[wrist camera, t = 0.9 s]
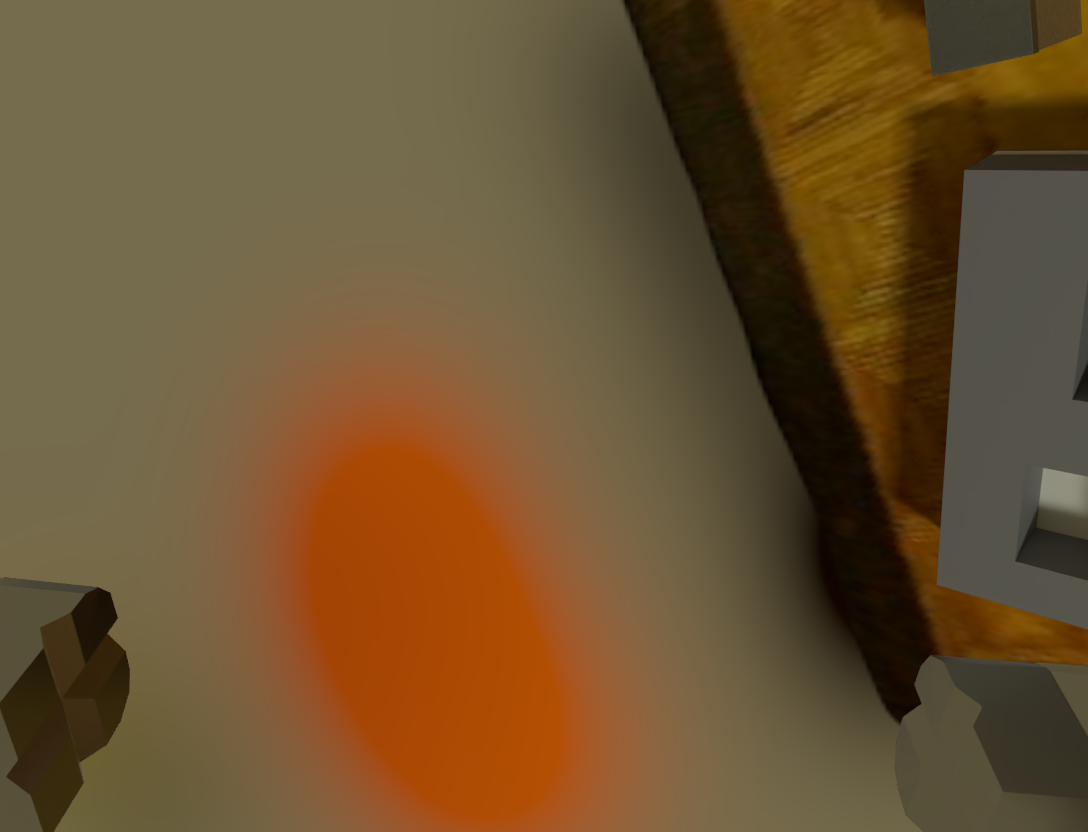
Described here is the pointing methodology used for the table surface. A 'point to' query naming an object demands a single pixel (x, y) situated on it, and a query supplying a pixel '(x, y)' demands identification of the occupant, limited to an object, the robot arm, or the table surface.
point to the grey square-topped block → (995, 30)
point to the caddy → (1020, 388)
